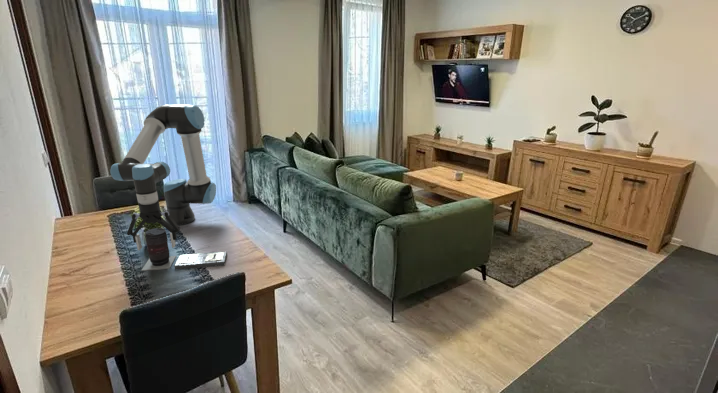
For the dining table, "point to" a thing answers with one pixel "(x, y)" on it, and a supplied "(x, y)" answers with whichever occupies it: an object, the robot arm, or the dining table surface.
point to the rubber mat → (150, 267)
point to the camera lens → (157, 246)
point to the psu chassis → (201, 260)
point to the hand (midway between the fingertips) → (157, 247)
